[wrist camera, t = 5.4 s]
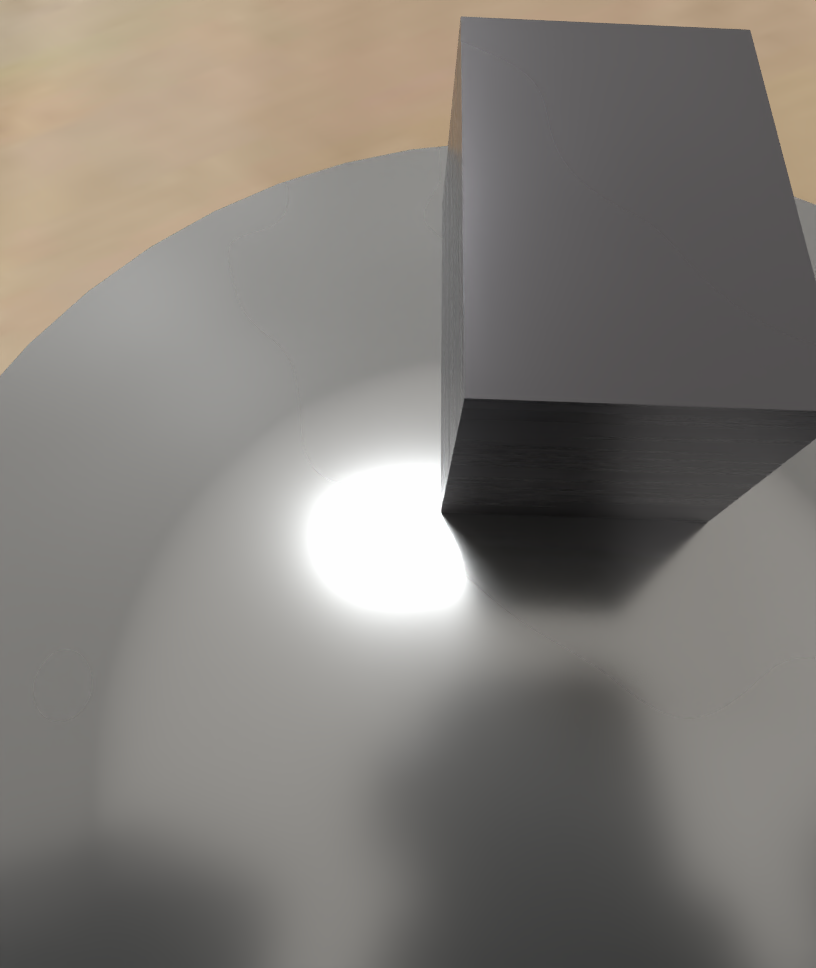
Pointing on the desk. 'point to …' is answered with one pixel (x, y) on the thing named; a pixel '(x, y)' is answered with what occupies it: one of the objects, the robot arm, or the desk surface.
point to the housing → (433, 549)
